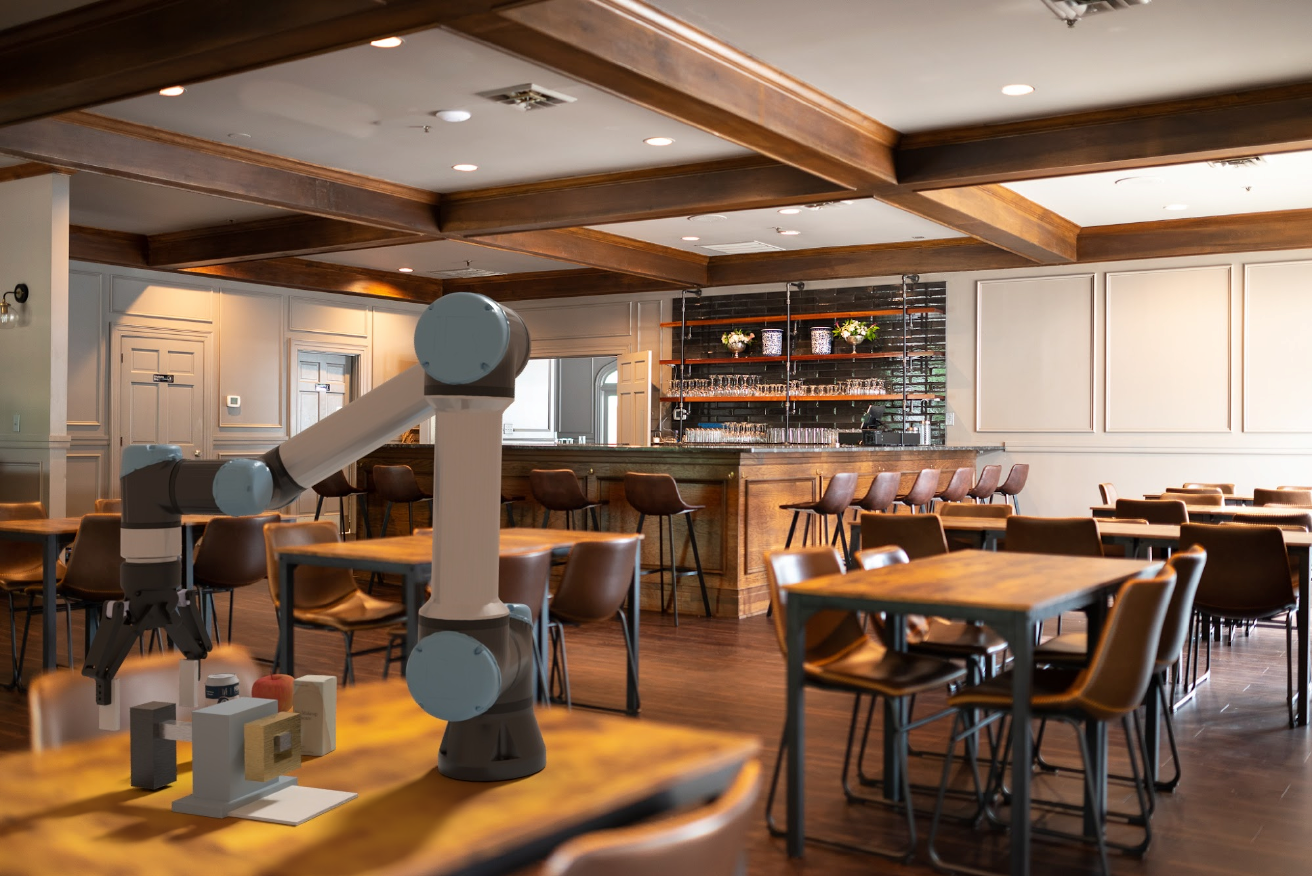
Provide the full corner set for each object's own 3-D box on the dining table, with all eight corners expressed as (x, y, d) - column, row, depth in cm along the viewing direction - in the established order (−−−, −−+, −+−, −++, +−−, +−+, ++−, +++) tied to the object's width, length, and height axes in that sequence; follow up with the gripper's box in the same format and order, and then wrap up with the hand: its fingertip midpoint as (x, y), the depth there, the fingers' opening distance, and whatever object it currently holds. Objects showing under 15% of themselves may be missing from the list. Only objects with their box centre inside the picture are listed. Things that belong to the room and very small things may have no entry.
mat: (358, 796, 151) (358, 793, 151) (296, 825, 139) (296, 822, 139) (289, 788, 155) (289, 785, 155) (224, 815, 144) (224, 812, 144)
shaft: (297, 796, 149) (296, 714, 149) (275, 805, 146) (274, 721, 146) (154, 778, 158) (153, 701, 158) (130, 786, 155) (129, 707, 155)
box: (291, 754, 171) (290, 679, 171) (306, 747, 175) (306, 673, 175) (323, 756, 170) (322, 681, 170) (338, 749, 174) (337, 675, 174)
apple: (302, 710, 199) (301, 664, 199) (291, 721, 192) (291, 672, 192) (258, 712, 199) (258, 665, 199) (246, 722, 191) (245, 673, 191)
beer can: (228, 762, 167) (227, 679, 167) (198, 761, 168) (197, 678, 168) (246, 753, 172) (245, 672, 172) (217, 752, 173) (216, 671, 173)
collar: (301, 767, 151) (300, 713, 151) (264, 782, 144) (263, 725, 144) (282, 765, 152) (281, 711, 152) (244, 779, 145) (244, 724, 145)
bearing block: (297, 786, 155) (296, 696, 155) (222, 818, 142) (220, 720, 142) (249, 780, 158) (248, 692, 158) (171, 811, 145) (170, 715, 145)
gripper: (198, 549, 169) (197, 695, 169) (50, 567, 146) (50, 736, 146) (239, 551, 166) (238, 700, 166) (95, 570, 143) (94, 742, 143)
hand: (150, 717), depth 156 cm, fingers open, 13 cm apart
